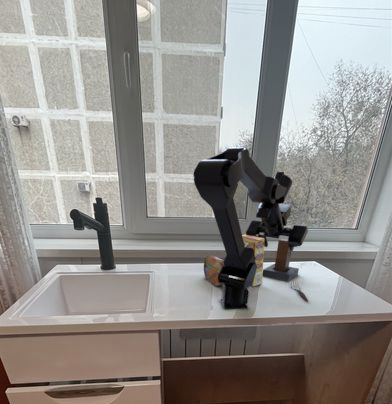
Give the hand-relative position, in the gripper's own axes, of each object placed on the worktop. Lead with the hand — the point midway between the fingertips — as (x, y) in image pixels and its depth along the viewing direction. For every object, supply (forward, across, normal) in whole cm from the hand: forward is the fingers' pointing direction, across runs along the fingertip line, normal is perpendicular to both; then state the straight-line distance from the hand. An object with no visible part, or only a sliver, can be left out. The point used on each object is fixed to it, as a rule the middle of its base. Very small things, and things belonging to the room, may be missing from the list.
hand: (279, 248), depth 98 cm
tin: (-4, +15, +20) cm, 25 cm away
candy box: (+1, +6, +14) cm, 15 cm away
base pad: (+12, 0, +4) cm, 12 cm away
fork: (+2, -12, +14) cm, 18 cm away
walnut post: (+12, 0, +4) cm, 12 cm away
